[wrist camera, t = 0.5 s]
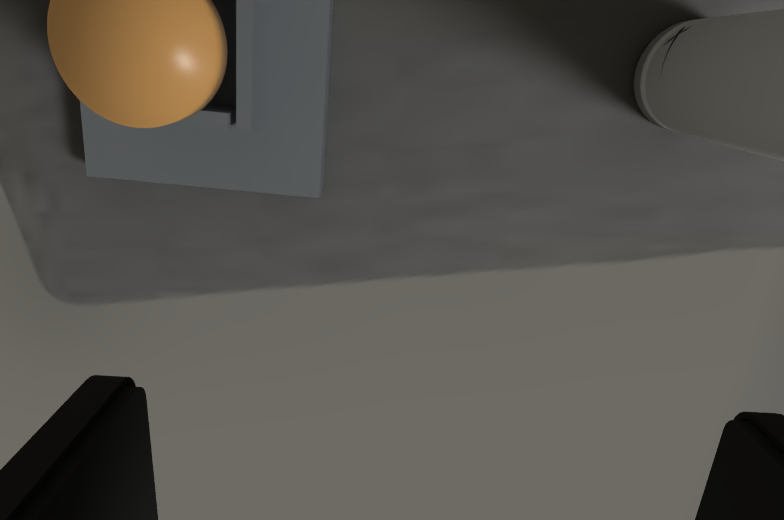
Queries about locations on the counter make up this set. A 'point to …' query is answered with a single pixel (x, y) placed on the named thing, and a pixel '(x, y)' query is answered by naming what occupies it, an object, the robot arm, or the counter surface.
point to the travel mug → (718, 81)
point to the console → (239, 111)
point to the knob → (139, 56)
